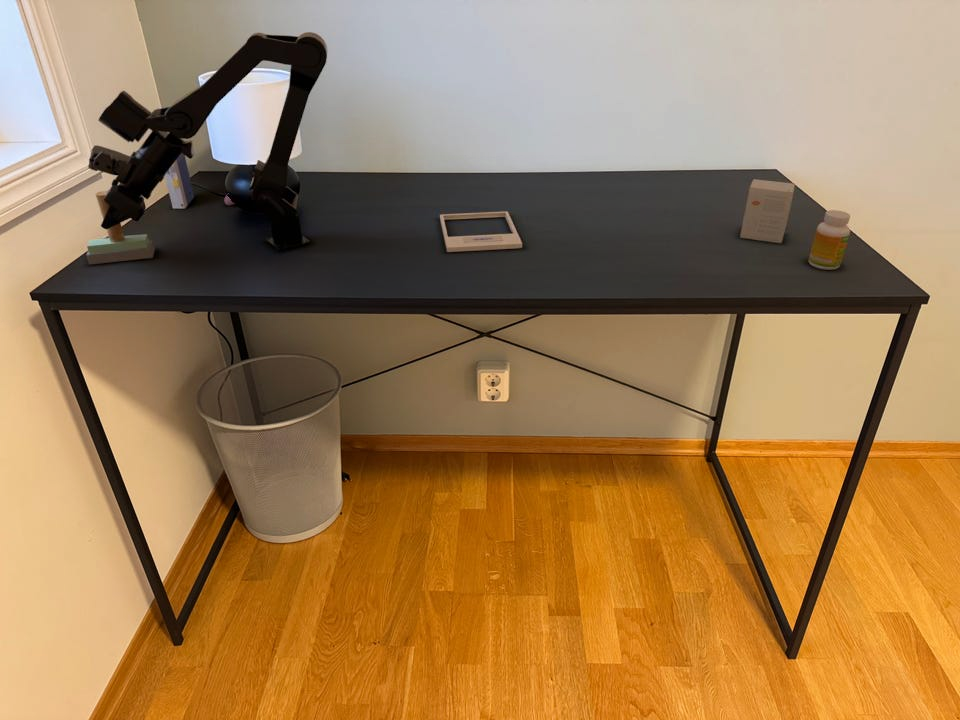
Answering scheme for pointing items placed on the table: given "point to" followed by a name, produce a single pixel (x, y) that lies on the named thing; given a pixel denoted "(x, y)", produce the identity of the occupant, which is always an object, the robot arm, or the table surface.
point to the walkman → (179, 183)
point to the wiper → (117, 243)
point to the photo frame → (480, 240)
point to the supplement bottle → (830, 241)
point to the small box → (767, 210)
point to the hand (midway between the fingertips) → (104, 225)
